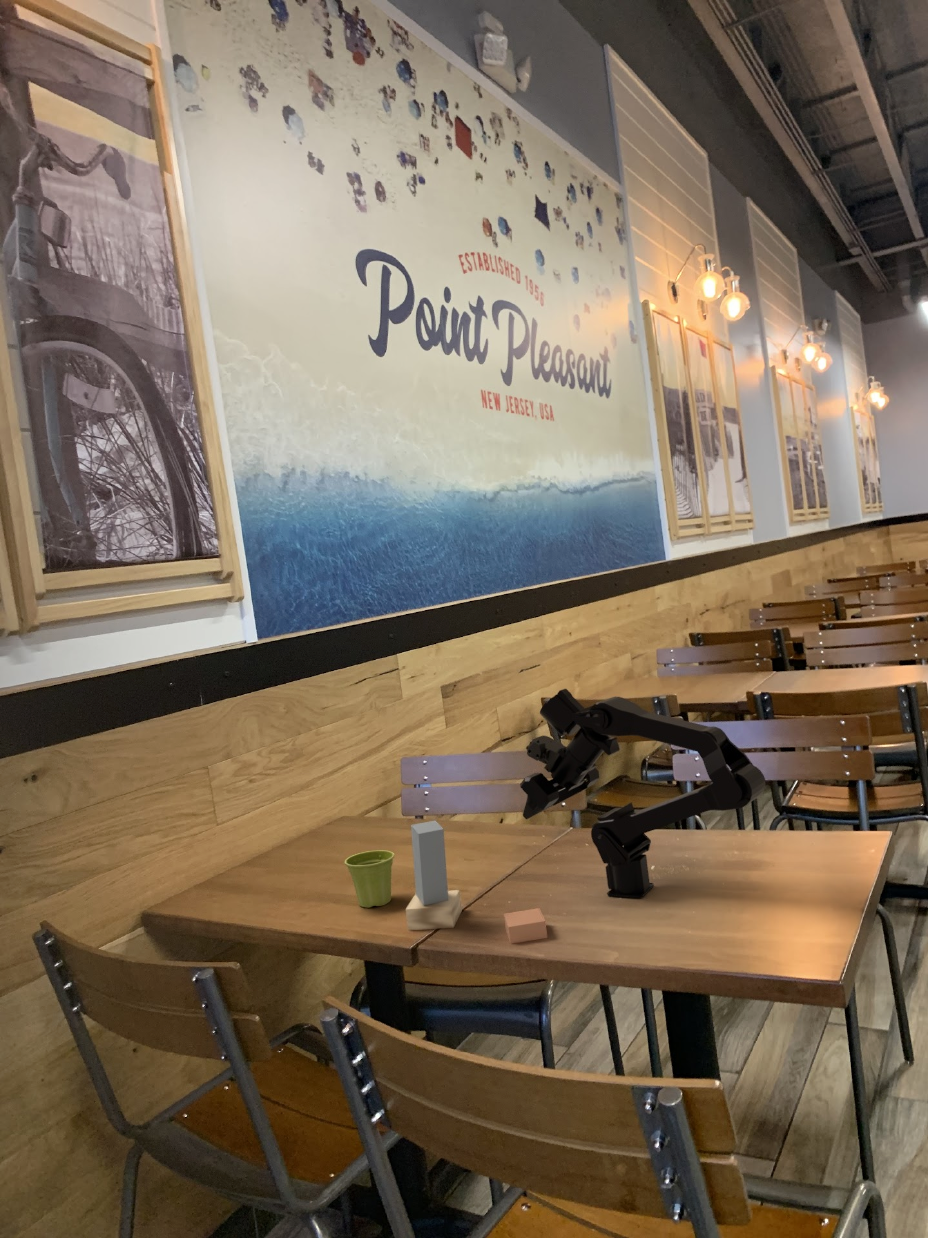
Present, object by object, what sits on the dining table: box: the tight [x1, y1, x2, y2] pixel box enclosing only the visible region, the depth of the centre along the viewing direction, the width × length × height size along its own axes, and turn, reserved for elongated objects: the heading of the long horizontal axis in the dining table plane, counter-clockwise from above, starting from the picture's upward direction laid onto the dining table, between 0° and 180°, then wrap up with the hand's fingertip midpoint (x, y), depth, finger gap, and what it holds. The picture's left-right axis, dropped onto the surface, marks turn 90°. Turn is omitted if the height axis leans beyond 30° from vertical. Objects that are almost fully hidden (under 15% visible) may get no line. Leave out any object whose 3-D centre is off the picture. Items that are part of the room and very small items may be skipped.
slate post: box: [410, 820, 449, 906], centre depth 161 cm, size 4×4×13 cm
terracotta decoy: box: [503, 907, 548, 944], centre depth 150 cm, size 6×6×3 cm
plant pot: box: [344, 849, 395, 908], centre depth 175 cm, size 9×9×9 cm
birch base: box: [405, 889, 463, 931], centre depth 162 cm, size 8×8×4 cm
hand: (538, 810), depth 174 cm, fingers open, 9 cm apart
